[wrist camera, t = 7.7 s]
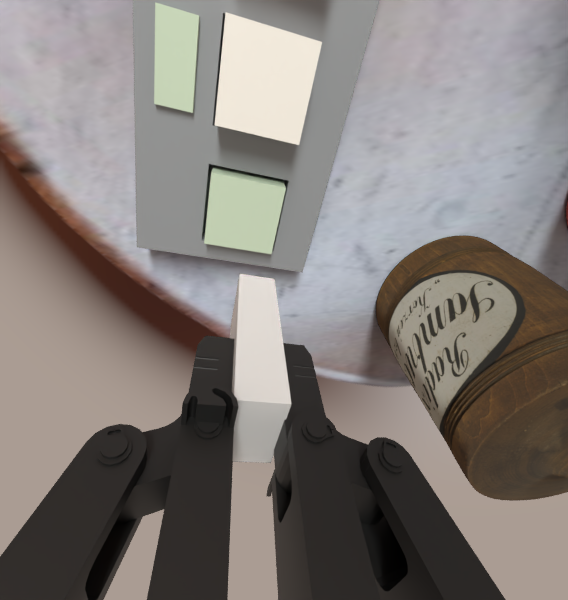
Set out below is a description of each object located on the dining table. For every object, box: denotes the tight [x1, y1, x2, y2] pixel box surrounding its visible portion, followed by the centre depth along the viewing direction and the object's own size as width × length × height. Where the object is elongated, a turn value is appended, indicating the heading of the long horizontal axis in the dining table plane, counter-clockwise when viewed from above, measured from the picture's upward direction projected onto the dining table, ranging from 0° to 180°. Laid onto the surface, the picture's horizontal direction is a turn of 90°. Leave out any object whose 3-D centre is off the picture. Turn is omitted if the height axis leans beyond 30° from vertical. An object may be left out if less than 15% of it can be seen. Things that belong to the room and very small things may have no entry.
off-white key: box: [215, 12, 322, 145], centre depth 20 cm, size 5×5×3 cm
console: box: [133, 0, 379, 272], centre depth 22 cm, size 26×14×3 cm, turn 167°
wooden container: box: [376, 236, 568, 500], centre depth 27 cm, size 15×15×22 cm
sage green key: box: [204, 165, 286, 254], centre depth 26 cm, size 5×5×3 cm
